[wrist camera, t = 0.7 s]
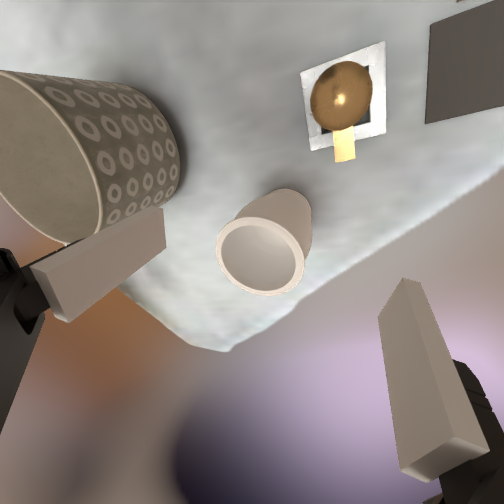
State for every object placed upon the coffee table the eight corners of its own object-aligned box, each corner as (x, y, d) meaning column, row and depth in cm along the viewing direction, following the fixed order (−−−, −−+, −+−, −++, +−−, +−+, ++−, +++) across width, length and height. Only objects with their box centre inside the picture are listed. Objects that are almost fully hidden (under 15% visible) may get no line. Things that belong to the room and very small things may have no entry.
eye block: (304, 75, 29) (300, 72, 27) (381, 46, 26) (385, 40, 23) (313, 147, 33) (310, 150, 30) (382, 131, 29) (386, 133, 27)
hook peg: (324, 90, 29) (306, 74, 16) (360, 78, 27) (371, 49, 14) (330, 143, 32) (318, 167, 19) (363, 136, 30) (374, 155, 17)
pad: (430, 25, 24) (431, 24, 23) (559, -24, 20) (563, -26, 20) (424, 123, 27) (425, 124, 27) (533, 98, 24) (535, 98, 23)
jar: (323, 184, 34) (310, 225, 22) (313, 246, 40) (298, 305, 28) (254, 178, 37) (210, 211, 25) (254, 236, 43) (217, 286, 31)
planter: (178, 79, 34) (49, 57, 19) (198, 206, 44) (122, 254, 29) (82, 89, 40) (-72, 77, 25) (119, 199, 49) (22, 237, 35)
